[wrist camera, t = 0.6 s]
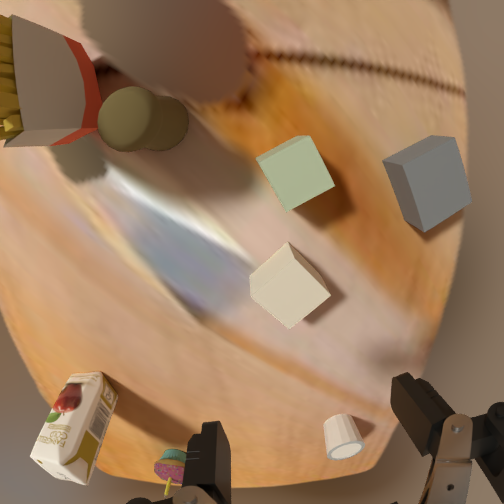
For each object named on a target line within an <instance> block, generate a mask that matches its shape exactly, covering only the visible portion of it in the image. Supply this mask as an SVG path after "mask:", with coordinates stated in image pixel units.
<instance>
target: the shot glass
mask: <svg viewBox="0 0 504 504" xmlns="http://www.w3.org/2000/svg"><path fill="white" fill-rule="evenodd" d="M323 425H324V434H325V442H326V450H327V457H328V458H329V459H331V460H342V459H346V458H350V457H352V456H354V455H356V454H358V453H359V452H361V451H362V450H363V448H364V447H365V443H364V441H363V439H362V437H361V435H360V433H359V430H358V428H357V426H356V424H355V422H354V420H353V418H352V416H351V415H349V414H338V415H335V416H333V417H331V418H329V419H328V420H326V421H325V423H324V424H323Z"/></svg>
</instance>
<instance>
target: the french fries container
mask: <svg viewBox="0 0 504 504" xmlns="http://www.w3.org/2000/svg"><path fill="white" fill-rule="evenodd" d="M101 107H102V99H101V95H100V91H99V87H98V82H97V78H96V73H95V68H94V66H93V64H92V62H91V60H90V59H89V57H88V55H87V53H86V52H85V50H84V48H83V46H82V45H81V43H79V42H76V41H74V40H72V39H70V38H68V37H66V36H64V35H61V34H59V33H57V32H55V31H52V30H50V29H48V28H45V27H43V26H41V25H38V24H36V23H33V22H31V21H28V20H26V19H23V18H20V17H18V16H15V15H11V16H10V17H9V18H7V17H5V16H2V15H0V125H4V126H2V127H0V140H3V139H6V142H5V144H4V147H25V146H53V145H61V144H69V143H71V142H73V141H75V140H77V139H79V138H81V137H83V136H85V135H87V134H89V133H91V132H93V131H95V130H97V129H98V124H97V121H98V114H99V111H100V109H101Z"/></svg>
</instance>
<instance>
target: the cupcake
mask: <svg viewBox="0 0 504 504" xmlns="http://www.w3.org/2000/svg"><path fill="white" fill-rule="evenodd" d="M185 460H186V453H184V452H183V451H180V450H176V449H168V450H166V451H165V453H164V454H163V456H162V457H161V458H160V459H159V460H158V461H156V462H155V464H154V471H155V473H156V475H157V476H159V477H160V478H161V479H163V480H166V481H168V482H167V486H166V490H165V493H164V494H165V497H166V495H168V491H169V488H170V484H171V483H174V484H182V482H183V474H184V467H185Z"/></svg>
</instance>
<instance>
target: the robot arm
mask: <svg viewBox="0 0 504 504" xmlns="http://www.w3.org/2000/svg"><path fill="white" fill-rule="evenodd" d="M390 402H391V407H392V410H393V412H394V413H395V415H396V417H397V418H398V420H399V421H400V423H401V424H402V426H403V427H404V429H405V430H406V432H407V433H408V435H409V437H410V438H411V440H412V441H413V443H414V444H415V446H416V448H417V449H418V451H419V452H420V454H421V455H422V457H423V456H425V455H427V454H429V453H430V454H431V455H432V460H431V464H430V468H429V472H428V475H427V479H426V483H425V487H424V489H423V492H422V495H421V498H420V500H419V503H418V504H465V503H466V498H467V493H468V488H469V482H470V476H471V469H472V461H471V459H474V458H475V460H476V462H477V463H478V465H479V466H480V468H481V469H482V471H483V472H484V474H485V476H486V477H487V479H488V480H489V481H490V483H491V485H492V487H493V488H494V490H495V491H496V493H497V495H498V497H499V498H500V500H501V502H502V503H503V504H504V402H498V403H495V404H493V405H492V406H491V407H490V408H489V410H488V412H487V414H484V415H480V416H476V417H472V418H470V417H468V416H467V415H465V414H456V413H455V412H454V411H453V410H452V408H451V407H450V406H449V405H448V404H447V403H446V402H445V400H444V399H443V398H442V397H441V396H440V395H439V394H438V393H437V391H436V390H434V388H433V387H432V386H431V385H430V384H429V382H427V381H425V380H423V379H421V378H418V379H416V380H415V379H414V378H413V377H412V376H411V375H410V373H408V372H406V373H404V374H401V375H399V376H396V377H393V379H392V386H391V399H390ZM126 504H231V450H230V445H229V441H228V439H227V437H226V434H225V432H224V430H223V427H222V425H221V423H220V421H213V422H204V423H203V424H202V431H201V434H194V435H193V436H192V438H191V439H190V441H189V442H188V447H187V453H186V460H185V467H184V474H183V482H182V487H181V489H179V490H178V491H177V492H176V493H175V494H174V496H173V497H171V498H168V499H165V500H161V501H157V502H151V501H150V500H148V499H146V498H134V499H132V500H130V501H129V502H128V503H126ZM392 504H398V503H397V502H394V503H392Z"/></svg>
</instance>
